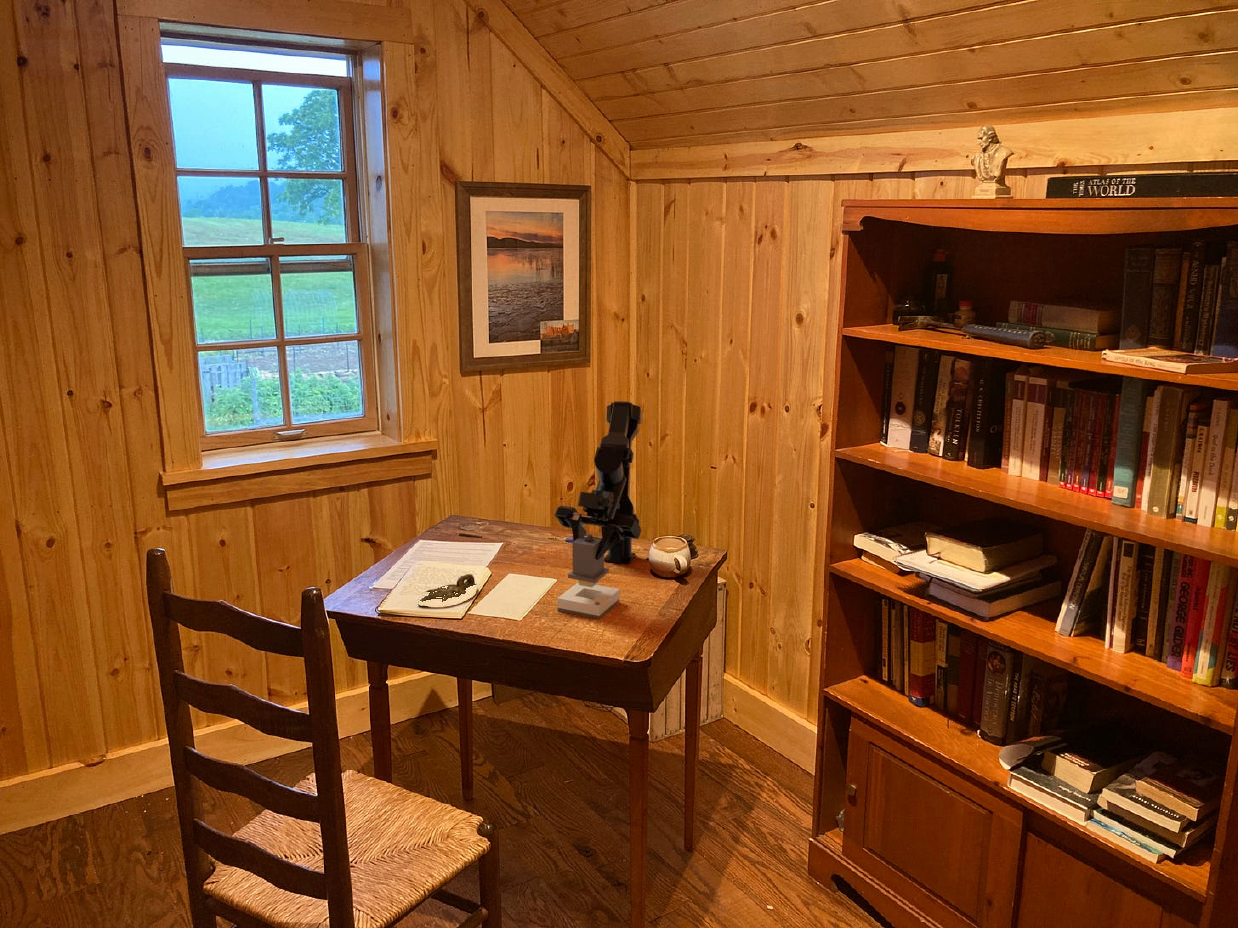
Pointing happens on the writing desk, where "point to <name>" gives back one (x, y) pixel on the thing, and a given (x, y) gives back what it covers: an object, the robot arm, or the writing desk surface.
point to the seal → (451, 589)
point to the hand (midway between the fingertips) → (585, 557)
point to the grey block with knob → (587, 561)
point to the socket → (588, 600)
